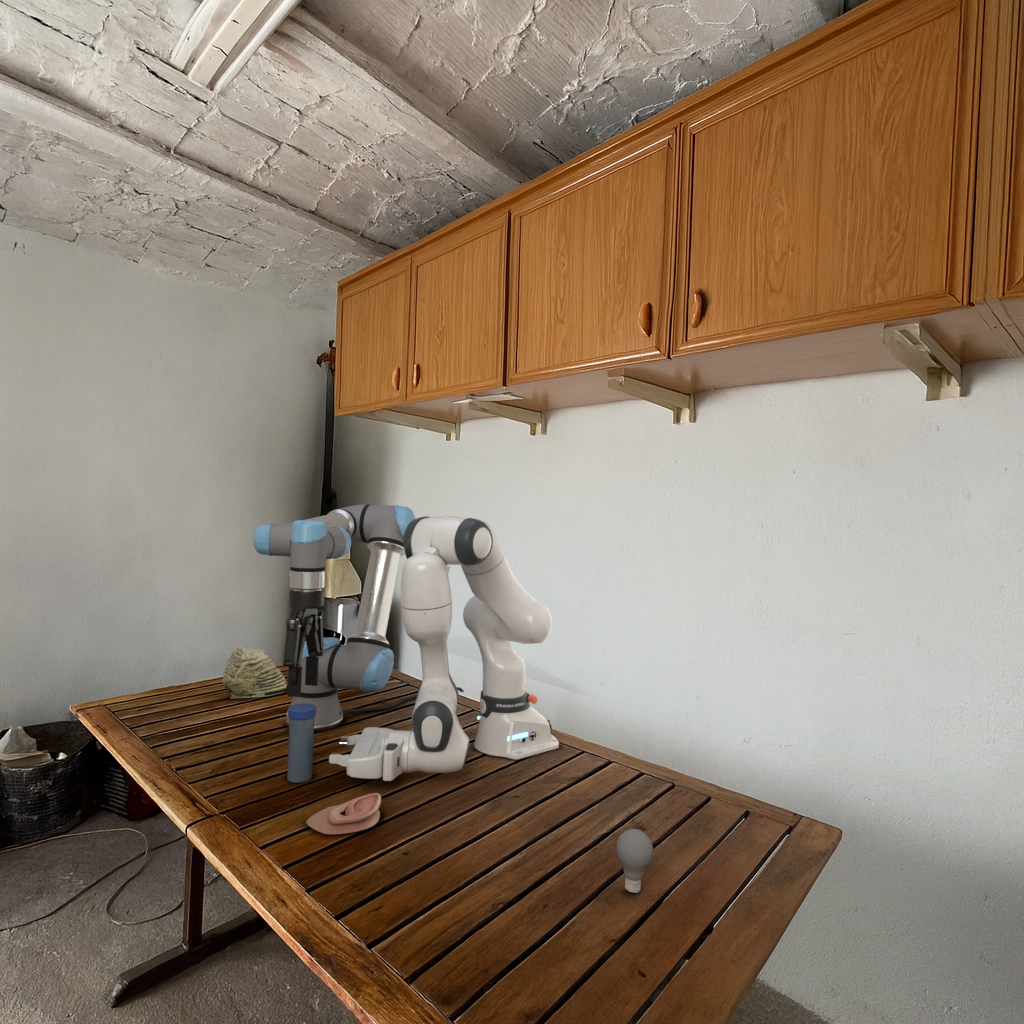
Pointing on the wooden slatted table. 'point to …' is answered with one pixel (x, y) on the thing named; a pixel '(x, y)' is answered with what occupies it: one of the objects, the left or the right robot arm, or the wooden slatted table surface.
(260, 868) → the wooden slatted table surface
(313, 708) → the lid
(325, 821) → the anatomical model
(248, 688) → the fossil
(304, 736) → the jar
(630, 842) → the light bulb
